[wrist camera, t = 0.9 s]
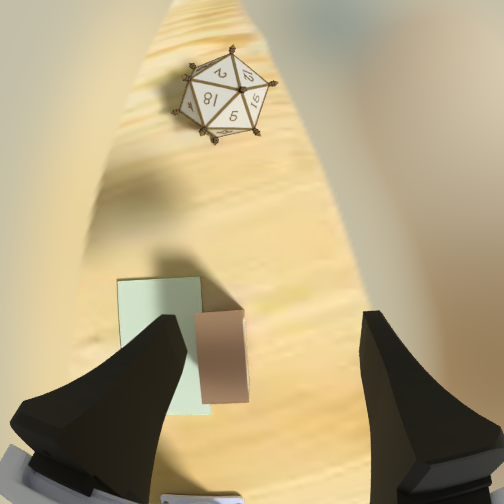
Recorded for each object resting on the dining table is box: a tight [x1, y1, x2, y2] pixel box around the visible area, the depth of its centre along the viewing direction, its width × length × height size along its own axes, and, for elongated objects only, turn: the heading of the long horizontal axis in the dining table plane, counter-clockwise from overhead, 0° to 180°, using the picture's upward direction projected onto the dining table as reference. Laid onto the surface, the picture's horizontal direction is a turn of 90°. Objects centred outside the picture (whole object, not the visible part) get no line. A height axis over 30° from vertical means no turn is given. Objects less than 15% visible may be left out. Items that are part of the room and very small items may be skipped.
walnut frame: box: [194, 310, 249, 404], centre depth 23 cm, size 6×3×7 cm, turn 4°
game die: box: [171, 44, 279, 145], centre depth 26 cm, size 9×8×10 cm
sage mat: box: [118, 276, 211, 415], centre depth 26 cm, size 12×8×1 cm, turn 4°
